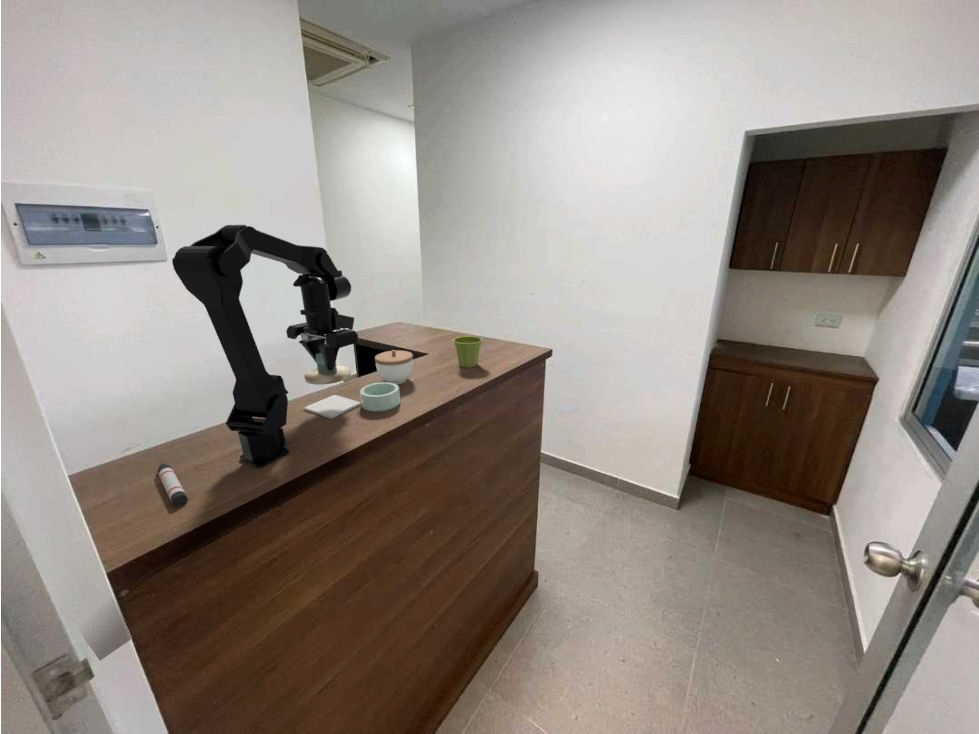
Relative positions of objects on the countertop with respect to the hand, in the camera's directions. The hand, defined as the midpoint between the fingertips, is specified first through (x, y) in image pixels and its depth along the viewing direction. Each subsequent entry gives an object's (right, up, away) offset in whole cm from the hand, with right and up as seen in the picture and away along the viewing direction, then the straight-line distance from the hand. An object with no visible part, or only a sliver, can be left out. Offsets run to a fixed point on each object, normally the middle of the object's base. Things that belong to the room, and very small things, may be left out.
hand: (327, 368), depth 92 cm
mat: (0, -10, +3) cm, 10 cm away
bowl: (+12, -9, +5) cm, 16 cm away
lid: (0, -2, +1) cm, 2 cm away
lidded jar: (+12, -4, +21) cm, 24 cm away
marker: (-16, -21, -26) cm, 37 cm away
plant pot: (+32, +1, +34) cm, 47 cm away
